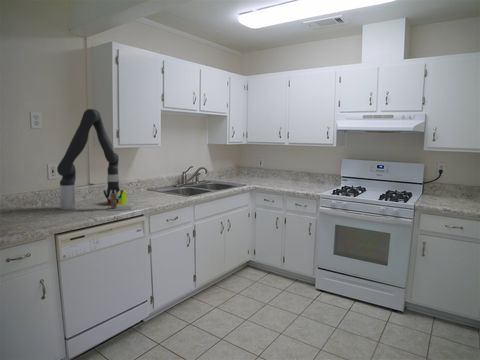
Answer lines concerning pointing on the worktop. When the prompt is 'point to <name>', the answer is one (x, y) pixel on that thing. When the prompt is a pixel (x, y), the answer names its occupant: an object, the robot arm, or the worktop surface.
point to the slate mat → (119, 208)
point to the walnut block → (113, 200)
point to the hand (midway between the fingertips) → (113, 203)
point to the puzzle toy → (121, 200)
